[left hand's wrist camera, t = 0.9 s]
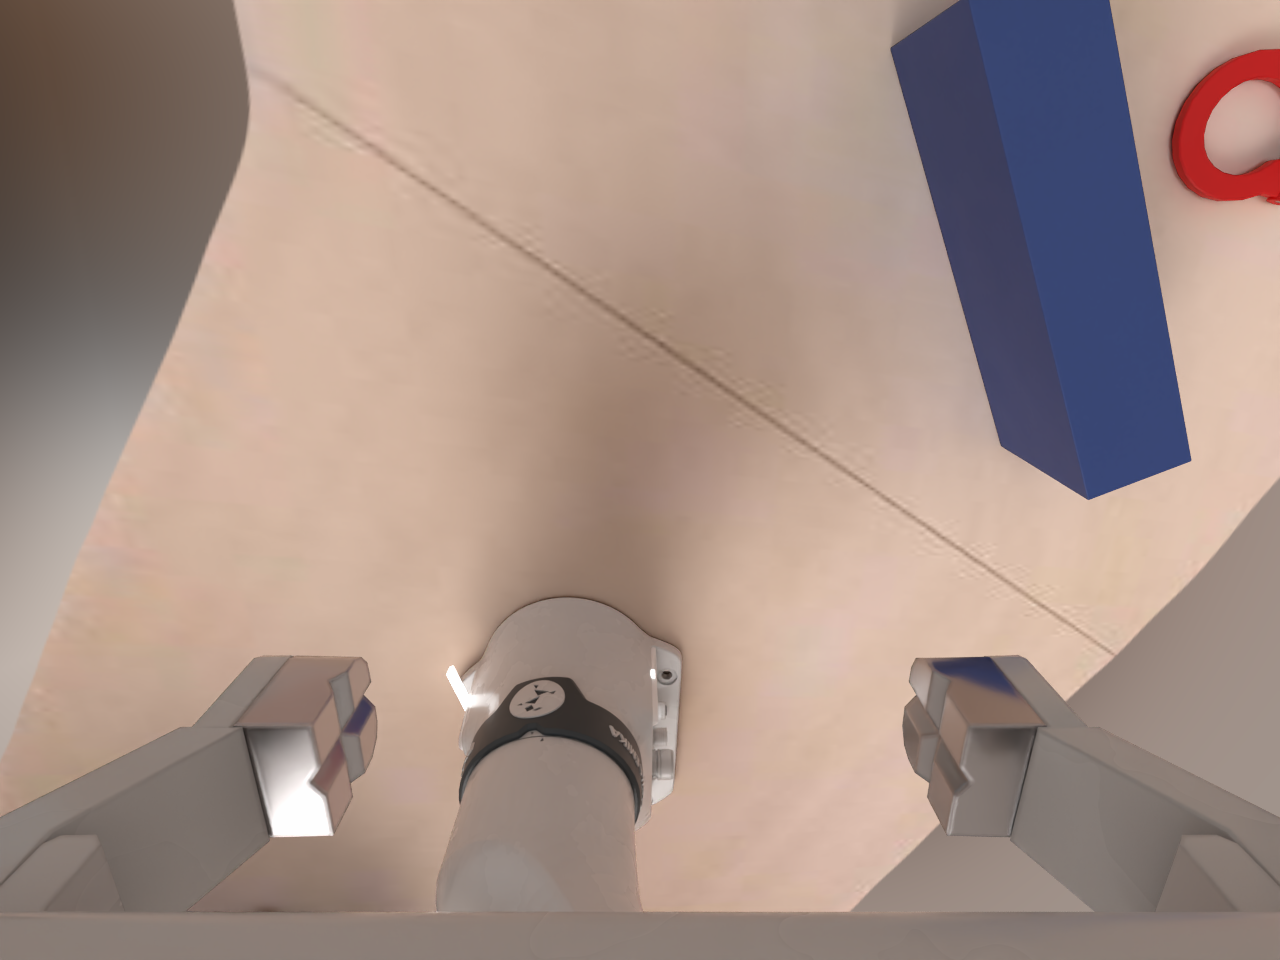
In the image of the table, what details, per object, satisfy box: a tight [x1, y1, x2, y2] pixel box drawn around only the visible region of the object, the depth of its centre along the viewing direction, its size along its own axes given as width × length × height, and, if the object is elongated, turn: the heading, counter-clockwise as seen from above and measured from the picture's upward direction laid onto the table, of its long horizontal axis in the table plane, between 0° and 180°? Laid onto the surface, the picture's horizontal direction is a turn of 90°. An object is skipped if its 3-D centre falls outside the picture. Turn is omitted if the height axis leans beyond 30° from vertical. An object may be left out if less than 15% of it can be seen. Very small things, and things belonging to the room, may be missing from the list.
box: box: [891, 0, 1191, 500], centre depth 41 cm, size 28×6×11 cm, turn 24°
